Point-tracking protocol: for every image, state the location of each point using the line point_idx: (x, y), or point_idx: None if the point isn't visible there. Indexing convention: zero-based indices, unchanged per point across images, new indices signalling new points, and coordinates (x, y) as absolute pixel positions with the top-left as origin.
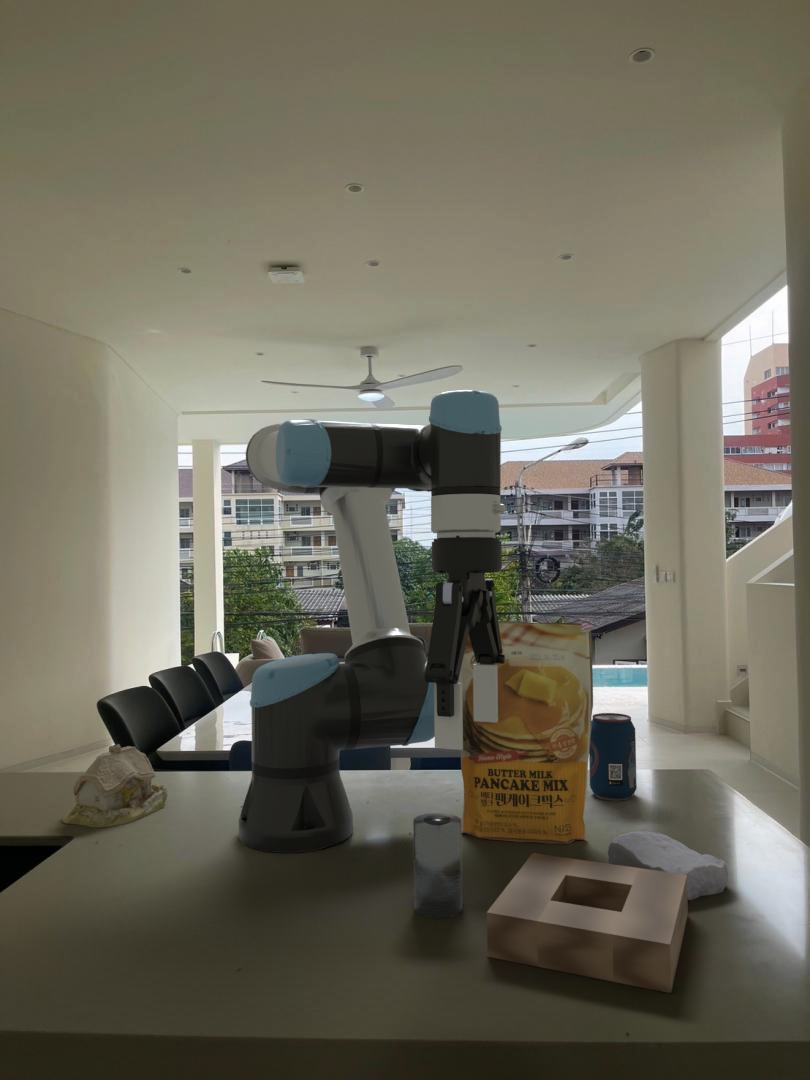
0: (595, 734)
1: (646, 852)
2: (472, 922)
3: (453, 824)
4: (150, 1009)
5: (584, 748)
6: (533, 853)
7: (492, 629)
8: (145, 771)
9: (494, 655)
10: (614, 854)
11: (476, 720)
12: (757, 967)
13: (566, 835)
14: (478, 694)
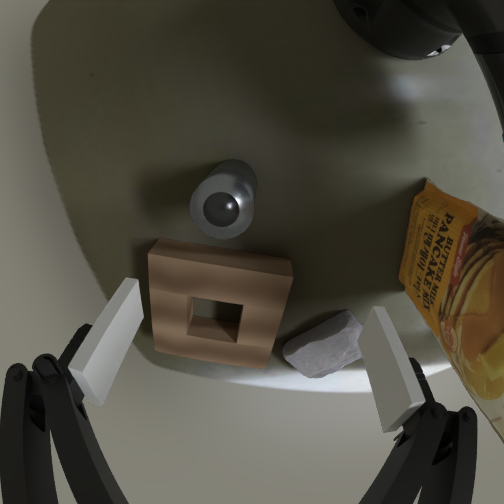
0: None
1: (322, 347)
2: None
3: (211, 232)
4: (49, 63)
5: (443, 346)
6: (292, 278)
7: (426, 493)
8: None
9: (392, 450)
10: (340, 322)
11: (371, 311)
12: (207, 366)
13: (401, 281)
14: (384, 354)
